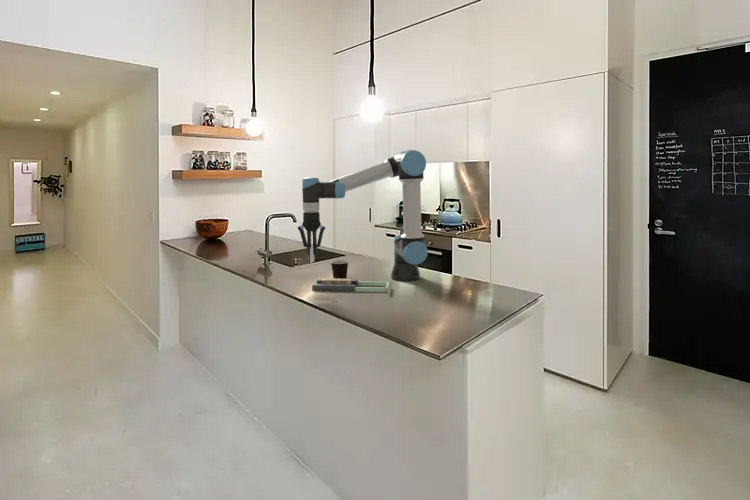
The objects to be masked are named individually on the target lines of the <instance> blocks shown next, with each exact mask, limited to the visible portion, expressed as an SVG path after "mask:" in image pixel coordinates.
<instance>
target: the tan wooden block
mask: <svg viewBox="0 0 750 500" xmlns="http://www.w3.org/2000/svg"><path fill="white" fill-rule="evenodd" d="M341 280H342V279H339V278H333V277H332V284H340V285H341Z"/></svg>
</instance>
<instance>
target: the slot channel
mask: <svg viewBox="0 0 750 500" xmlns="http://www.w3.org/2000/svg"><path fill="white" fill-rule="evenodd" d="M322 280H323V279H316V283H313V284H312V285H311V290H312V291H313V292H314V291H317V292H320V291H321V292H323V291H324V292H327V291H329V292H355V287H359V285H358V281H359V279H351V285H340V284H322Z"/></svg>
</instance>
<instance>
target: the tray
mask: <svg viewBox="0 0 750 500" xmlns="http://www.w3.org/2000/svg"><path fill="white" fill-rule="evenodd" d="M365 286H366V287H365ZM374 286H375V287H374ZM389 291H390V281H366V280H364V281H363V280H358V287H355V291H354V292H356V293H357V292H358V293H359V292H365V293H369V292H370V293H386V295H388V294H389Z"/></svg>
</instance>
